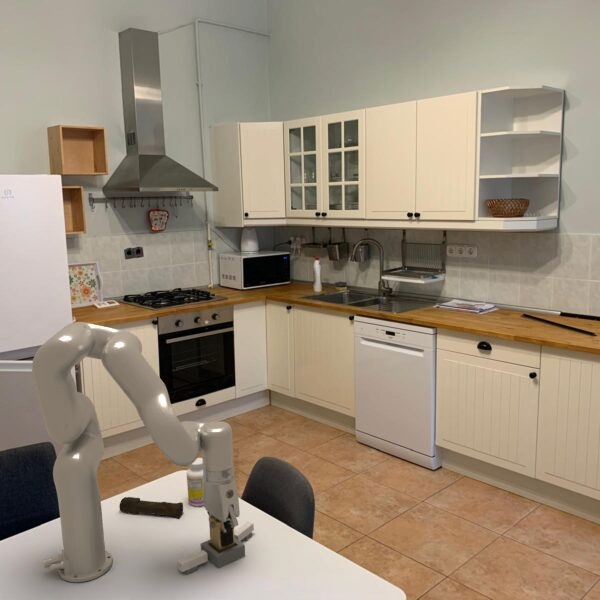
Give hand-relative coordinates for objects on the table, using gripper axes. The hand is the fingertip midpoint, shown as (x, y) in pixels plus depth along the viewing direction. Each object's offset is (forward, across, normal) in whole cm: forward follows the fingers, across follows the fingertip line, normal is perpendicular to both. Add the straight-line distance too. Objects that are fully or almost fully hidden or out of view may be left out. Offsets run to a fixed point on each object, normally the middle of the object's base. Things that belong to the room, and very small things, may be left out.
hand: (222, 539), depth 158 cm
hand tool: (+5, +31, +5) cm, 32 cm away
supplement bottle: (+4, +28, -10) cm, 30 cm away
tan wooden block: (+3, 0, 0) cm, 3 cm away
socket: (+4, 0, 0) cm, 4 cm away
